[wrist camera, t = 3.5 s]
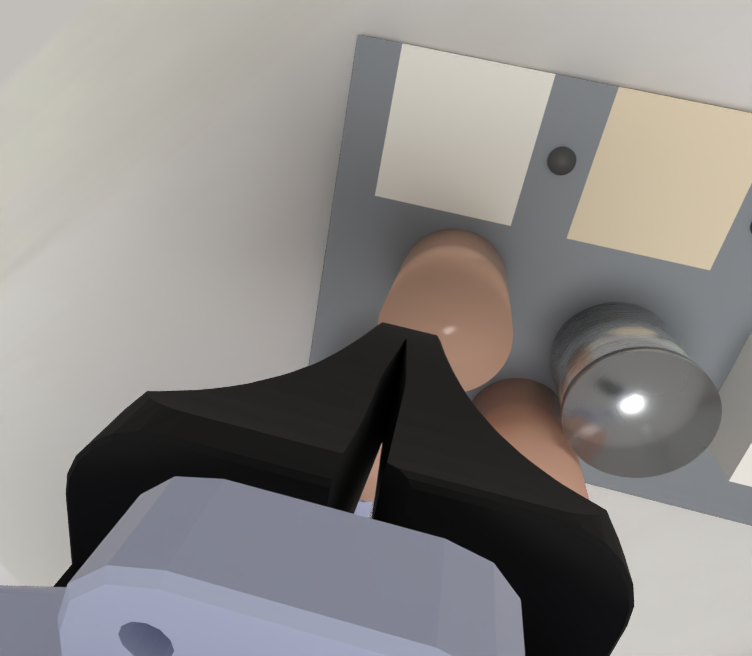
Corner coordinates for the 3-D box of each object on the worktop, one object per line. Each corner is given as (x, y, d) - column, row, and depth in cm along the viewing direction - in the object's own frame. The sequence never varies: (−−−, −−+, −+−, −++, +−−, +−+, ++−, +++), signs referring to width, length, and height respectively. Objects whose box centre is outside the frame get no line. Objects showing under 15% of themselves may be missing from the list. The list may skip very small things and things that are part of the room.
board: (803, 530, 23) (813, 544, 23) (306, 403, 25) (300, 412, 24) (1058, 174, 17) (1084, 179, 16) (361, 35, 18) (356, 34, 18)
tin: (647, 419, 22) (683, 492, 18) (532, 391, 22) (543, 457, 18) (697, 316, 20) (750, 373, 16) (570, 286, 20) (591, 336, 16)
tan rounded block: (549, 469, 23) (565, 562, 19) (457, 446, 24) (452, 531, 19) (580, 391, 22) (607, 473, 17) (481, 367, 22) (482, 441, 18)
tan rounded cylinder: (491, 339, 21) (493, 407, 17) (391, 316, 22) (367, 376, 17) (519, 241, 20) (530, 287, 15) (411, 218, 20) (389, 256, 16)
